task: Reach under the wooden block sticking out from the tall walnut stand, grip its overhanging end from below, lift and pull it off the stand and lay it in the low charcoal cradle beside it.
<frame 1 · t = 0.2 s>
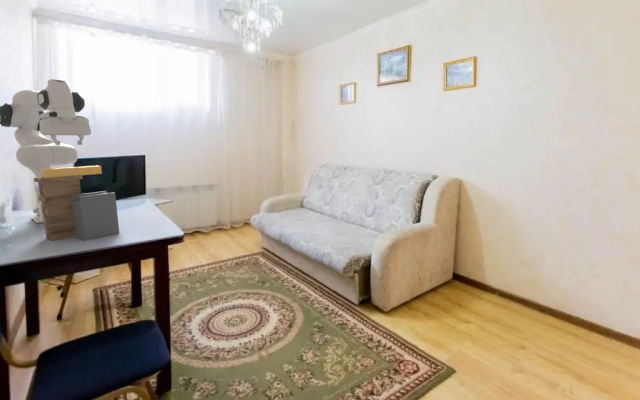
hand: (69, 145, 165), 39 cm above the table, tool pointing down, fingers open, 8 cm apart
stand: (66, 235, 153), on the table
cradle: (98, 235, 154), on the table
wooden block: (73, 175, 153), point 26 cm above the table, touching stand
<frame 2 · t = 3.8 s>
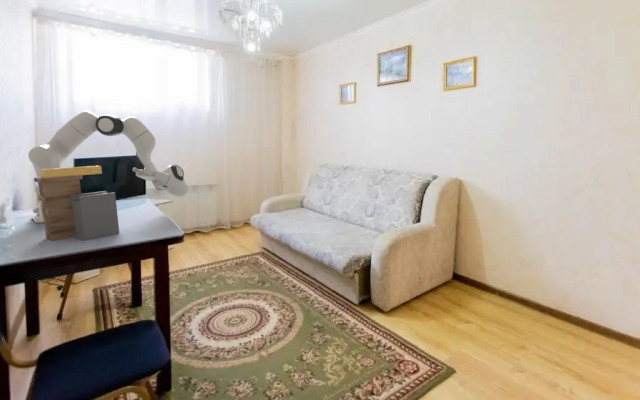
hand: (138, 169, 177), 26 cm above the table, tool pointing upward, fingers open, 8 cm apart
nothing on the table moved.
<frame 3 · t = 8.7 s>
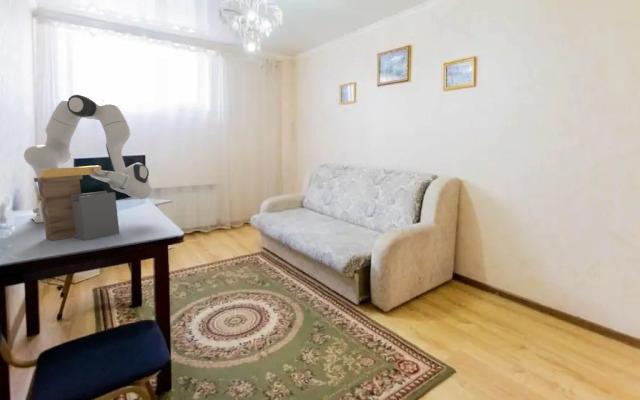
hand: (90, 169, 159), 28 cm above the table, tool pointing upward, fingers closed on wooden block, 3 cm apart
wooden block: (73, 175, 153), point 26 cm above the table, touching gripper, stand
when the fingers open (20 cm above the table, at t = 22.6 s): wooden block drops 2 cm, resting on cradle.
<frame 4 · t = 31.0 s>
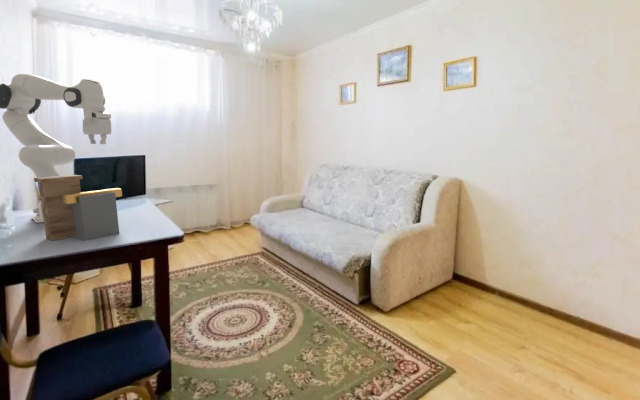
hand: (98, 144, 170), 39 cm above the table, tool pointing down, fingers open, 8 cm apart
wooden block: (94, 199, 151), point 16 cm above the table, touching cradle
at the end: wooden block inside the target area on the cradle (0.1 cm from its centre), point 16.0 cm above the cradle's base; wooden block tilted 0°; the gripper is holding nothing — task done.
